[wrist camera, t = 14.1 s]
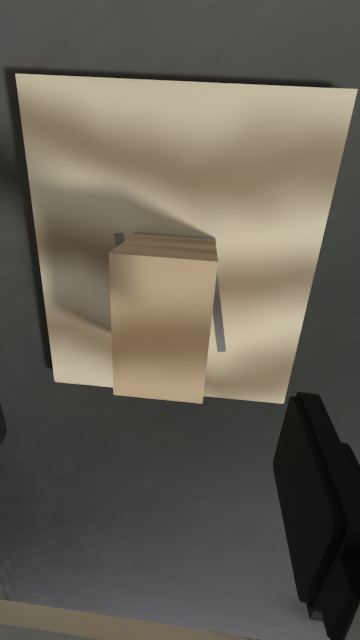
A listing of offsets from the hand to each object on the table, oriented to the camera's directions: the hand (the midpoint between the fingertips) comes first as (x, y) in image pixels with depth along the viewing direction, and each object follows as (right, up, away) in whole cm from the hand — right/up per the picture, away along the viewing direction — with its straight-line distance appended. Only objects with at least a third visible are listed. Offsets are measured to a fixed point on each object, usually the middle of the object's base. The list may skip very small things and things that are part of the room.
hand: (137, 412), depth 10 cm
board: (+1, +7, +12) cm, 14 cm away
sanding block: (+1, +5, +12) cm, 13 cm away
